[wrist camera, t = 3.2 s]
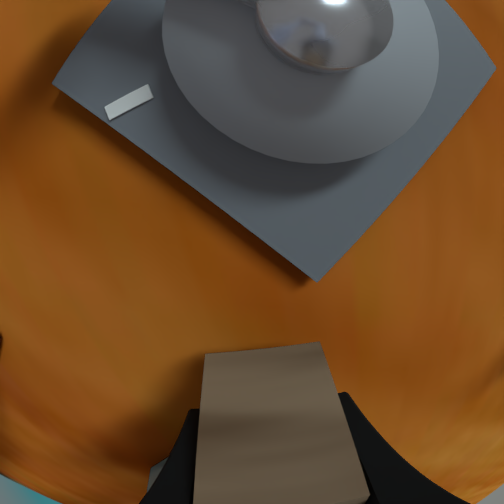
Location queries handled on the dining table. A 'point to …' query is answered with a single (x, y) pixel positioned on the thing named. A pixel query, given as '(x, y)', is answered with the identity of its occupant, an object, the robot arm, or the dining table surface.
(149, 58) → the crank base
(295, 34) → the crank
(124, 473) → the dining table surface
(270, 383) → the block
